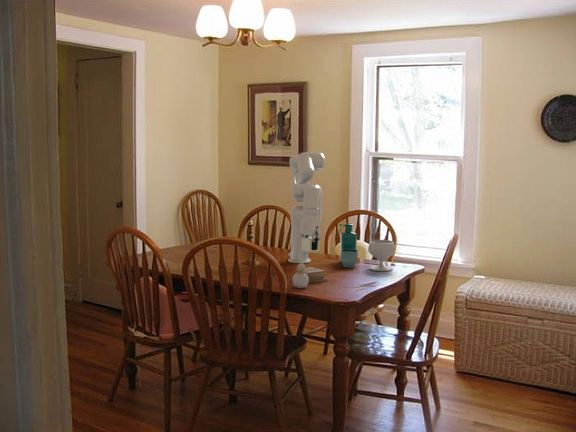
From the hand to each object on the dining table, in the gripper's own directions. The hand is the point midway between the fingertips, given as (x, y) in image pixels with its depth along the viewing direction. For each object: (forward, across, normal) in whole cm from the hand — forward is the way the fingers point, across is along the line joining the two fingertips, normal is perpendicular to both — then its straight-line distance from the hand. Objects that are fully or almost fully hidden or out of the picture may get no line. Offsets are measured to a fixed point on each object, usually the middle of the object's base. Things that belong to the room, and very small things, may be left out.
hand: (310, 248), depth 295 cm
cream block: (+1, 0, 0) cm, 1 cm away
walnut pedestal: (+15, 0, 0) cm, 15 cm away
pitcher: (+15, -25, +45) cm, 54 cm away
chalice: (+16, -1, +48) cm, 51 cm away
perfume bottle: (+16, +11, -13) cm, 23 cm away
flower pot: (+16, -15, +38) cm, 44 cm away
